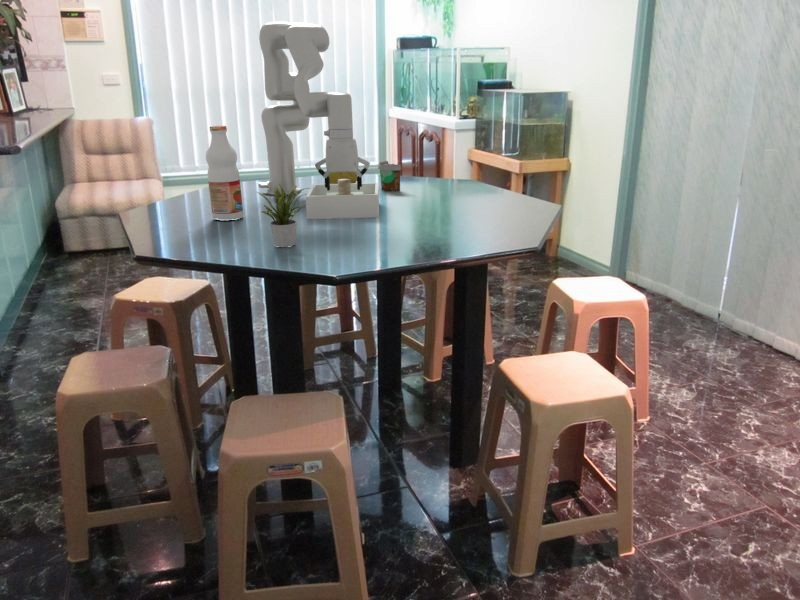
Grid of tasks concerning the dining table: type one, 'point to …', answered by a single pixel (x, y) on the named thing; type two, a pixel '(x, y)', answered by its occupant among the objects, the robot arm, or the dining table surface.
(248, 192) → the dining table surface
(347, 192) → the peg
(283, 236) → the house plant
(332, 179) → the fruit
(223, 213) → the fruit juice
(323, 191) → the box
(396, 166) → the food container
